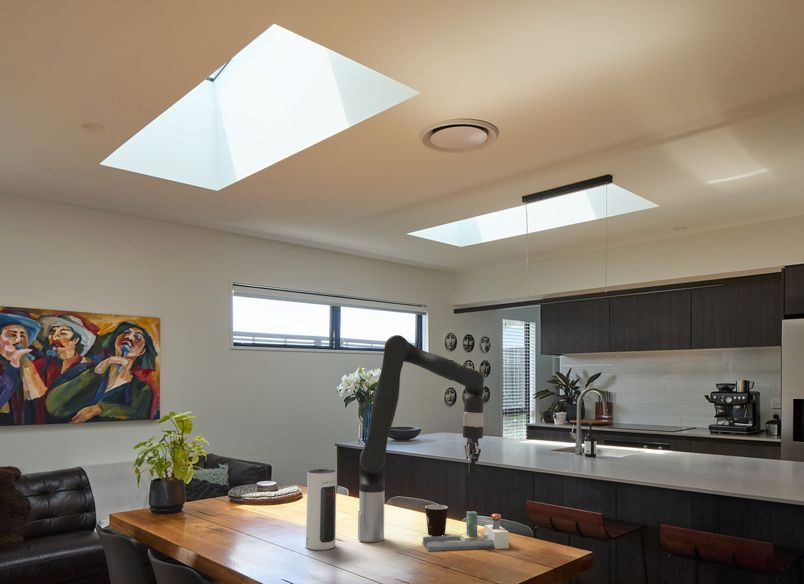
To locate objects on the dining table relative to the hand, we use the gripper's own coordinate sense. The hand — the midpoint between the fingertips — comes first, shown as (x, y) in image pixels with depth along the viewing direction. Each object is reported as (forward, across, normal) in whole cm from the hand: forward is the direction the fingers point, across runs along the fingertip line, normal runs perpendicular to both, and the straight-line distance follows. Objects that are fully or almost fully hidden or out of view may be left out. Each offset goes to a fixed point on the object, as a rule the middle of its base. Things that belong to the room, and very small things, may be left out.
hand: (471, 473), depth 226 cm
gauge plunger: (+23, +4, +9) cm, 25 cm away
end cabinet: (+24, +4, +9) cm, 26 cm away
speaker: (+26, -2, -53) cm, 60 cm away
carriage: (+23, +4, -1) cm, 23 cm away
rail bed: (+24, +4, -4) cm, 25 cm away
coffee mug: (+25, -15, -9) cm, 30 cm away
